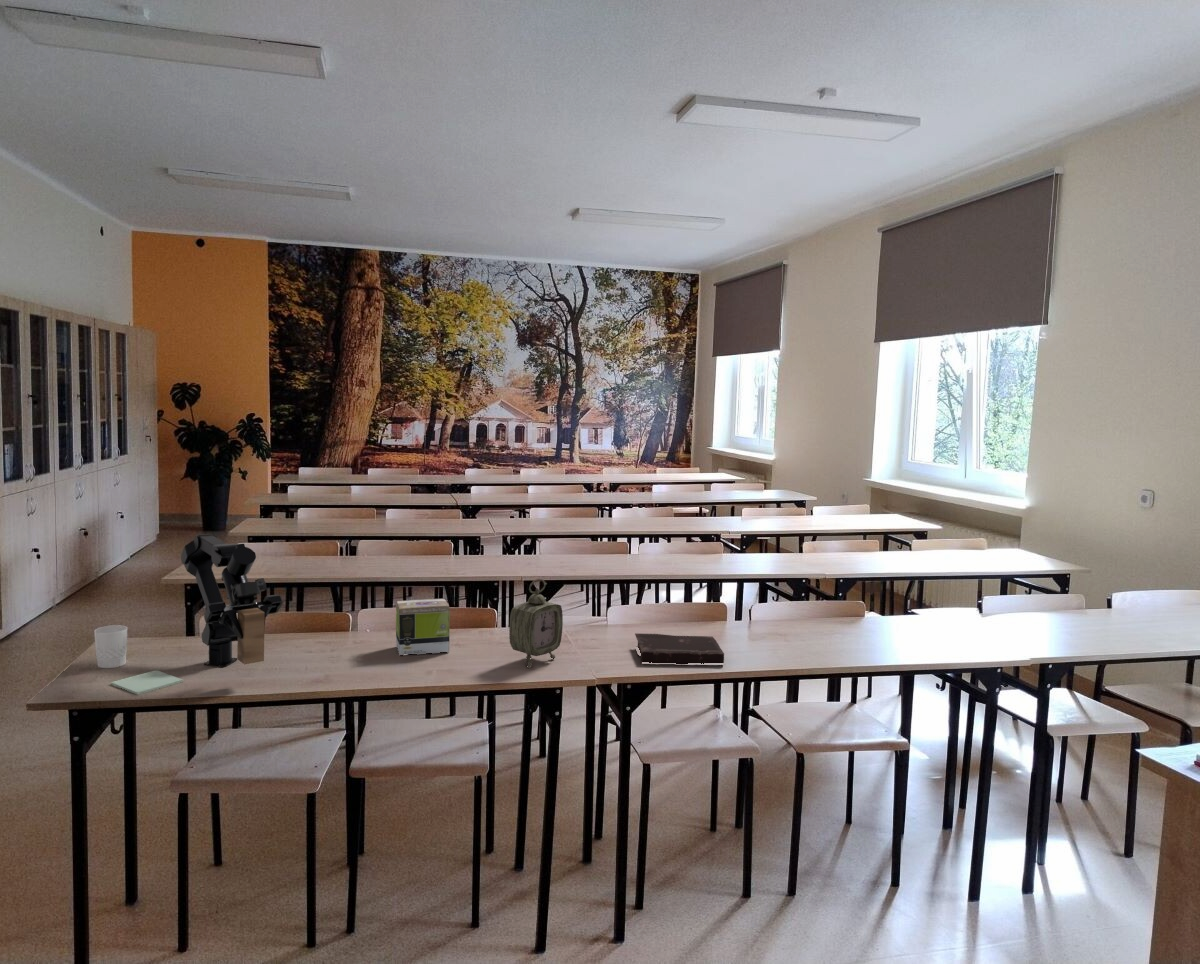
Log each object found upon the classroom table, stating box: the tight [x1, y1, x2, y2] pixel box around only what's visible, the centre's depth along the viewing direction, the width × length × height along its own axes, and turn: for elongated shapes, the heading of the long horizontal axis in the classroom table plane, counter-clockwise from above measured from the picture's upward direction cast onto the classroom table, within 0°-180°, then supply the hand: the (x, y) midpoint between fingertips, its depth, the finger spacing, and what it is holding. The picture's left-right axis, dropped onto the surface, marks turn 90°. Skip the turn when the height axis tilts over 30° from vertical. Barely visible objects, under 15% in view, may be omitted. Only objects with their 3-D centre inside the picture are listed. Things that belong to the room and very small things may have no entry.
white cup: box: [93, 624, 128, 669], centre depth 231 cm, size 8×8×10 cm
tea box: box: [395, 598, 451, 656], centre depth 255 cm, size 15×10×15 cm, turn 109°
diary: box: [634, 632, 725, 664], centre depth 261 cm, size 19×25×5 cm
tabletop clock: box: [508, 578, 564, 668], centre depth 248 cm, size 14×9×25 cm, turn 143°
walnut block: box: [236, 608, 266, 665], centre depth 219 cm, size 5×5×13 cm
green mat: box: [110, 670, 184, 695], centre depth 219 cm, size 12×12×1 cm
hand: (252, 636), depth 218 cm, fingers closed on walnut block, 5 cm apart
